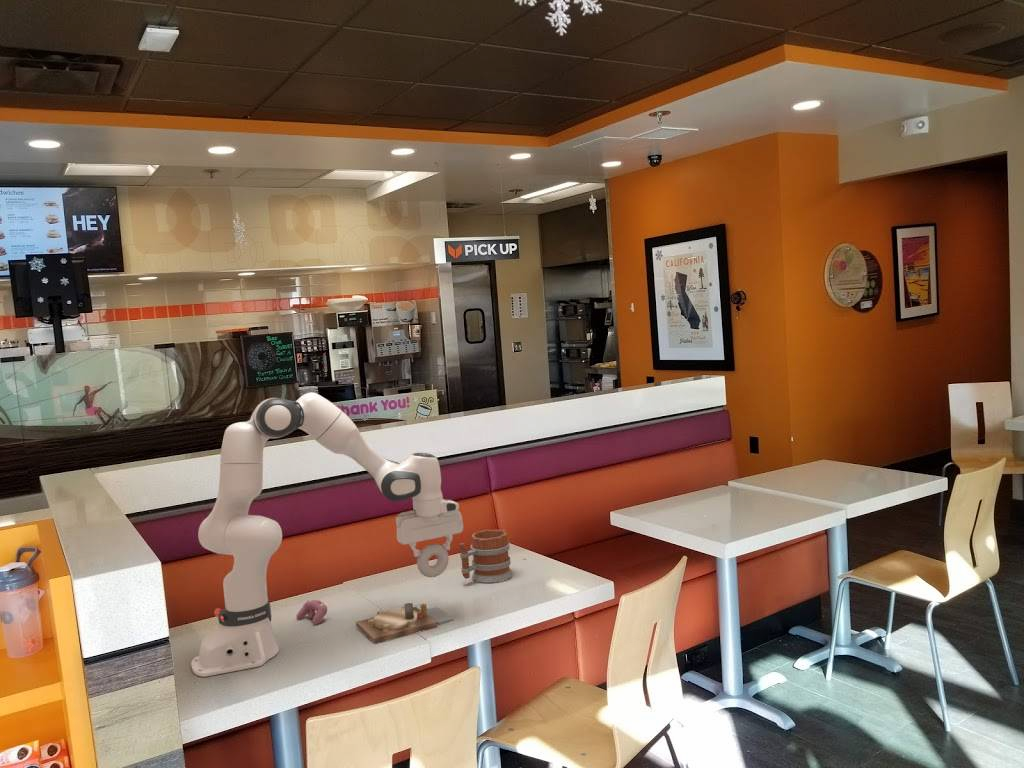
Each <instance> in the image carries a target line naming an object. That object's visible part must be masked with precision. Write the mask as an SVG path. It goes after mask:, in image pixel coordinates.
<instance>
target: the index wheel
mask: <svg viewBox="0 0 1024 768" xmlns="http://www.w3.org/2000/svg"><path fill="white" fill-rule="evenodd" d="M403 605H404V606H402V607H401V608H393V609H389V610H381V609H380V610H378V611H377V612H376V615H375V616H374V619H372V620H368V624H369V627H373V626H375V627H377V628H379V629H383V631H384V632H389V631H390V630H395V629H401V628H405V627H410V628H412V627H415V623H416V621H417V618H423V612H422V611H418V612H416V611H414V610H413V607H414V605H413V603H411V602H408V603H404V604H403Z"/></svg>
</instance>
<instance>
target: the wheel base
mask: <svg viewBox="0 0 1024 768" xmlns="http://www.w3.org/2000/svg"><path fill="white" fill-rule="evenodd" d="M419 606H420V609H419V608H418V607H417V606H413V610H414V611H416V612H418V611H422V612H423V618H417V621H416V623H415V627H412V628H410V627H405V628H401V629H395V630H390V631H389V632H384V631H383V629H379V628H377V627H375V626H373V627H369V624H368V620H372V619H374V617H375V616H374V617H370V618H366V619H361V620H358V621H355V627H356V626H357V627H358V628H359V629H360V630H361V631H362V632H363V633H364V634H365V635H366V636H365V635H364V634H363V633H362V632H361V631H360V630H359V629H358V628H357V627H356V628H357V629H358V630H359V631H360V632H361V633H362V634H363V635H364V636H365V637H367V639H368V640H370V641H371V642H372V643H373V644H374V643H376V644H379V643H378V642H380V643H384V642H387V641H391V640H395V639H399V638H401V637H406V636H409V635H414V634H417V633H420V632H419V631H421V632H424V631H423V630H425V631H428V630H432V629H435V628H439V627H438V626H439V624H437V621H435V620H434V619H432V618H431V617H430V616H428V615H427V609H428V608H427V604H425V603H421V604H419ZM416 632H417V633H416ZM386 640H387V641H386ZM383 641H384V642H383Z"/></svg>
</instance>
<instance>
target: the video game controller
mask: <svg viewBox="0 0 1024 768" xmlns="http://www.w3.org/2000/svg"><path fill="white" fill-rule="evenodd" d="M327 613H328V606H327V605H326V604H325V603H324V602H323V601H321V600H319V599H310V600H309V599H307V601H306V602H305V603H304V604H303V605H302V606H301V608H300V609H299V611H298V612H297V614H296V620H298V621H301V620H302V619H304V618H305V617H306V616H307V617H308V619H310V620H311V619H312V618H313V619H312V620H311V625H313V626H317V625H318V623H319V624H320V623H321V621H323V620H324V617H325V616H326V615H327ZM316 624H317V625H316Z"/></svg>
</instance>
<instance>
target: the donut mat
mask: <svg viewBox="0 0 1024 768" xmlns="http://www.w3.org/2000/svg"><path fill="white" fill-rule="evenodd" d="M426 609H427V615H428V616H430V617H431V618H432V619H434V620H435V621H437V625H442V624H446V623H450V621H451V622H453V621H454V622H455V618H454V617H453V616H451V615H450V614H448V613H447V612H446V611H443V610H442V609H441V608H440V607H438V606H432V607H429V608H426Z"/></svg>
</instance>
